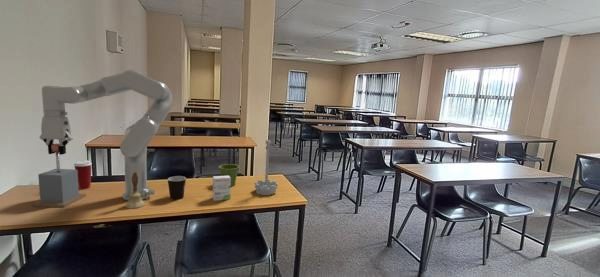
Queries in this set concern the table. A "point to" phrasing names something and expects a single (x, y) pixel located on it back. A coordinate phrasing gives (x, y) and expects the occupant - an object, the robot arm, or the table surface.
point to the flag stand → (266, 178)
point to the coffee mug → (176, 187)
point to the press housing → (58, 188)
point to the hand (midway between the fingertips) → (57, 153)
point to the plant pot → (229, 171)
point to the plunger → (56, 149)
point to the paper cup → (83, 174)
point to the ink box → (221, 187)
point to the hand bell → (135, 195)
